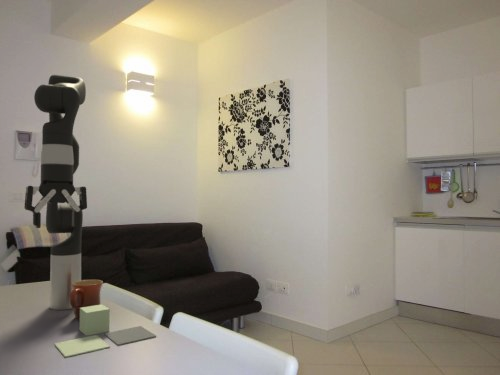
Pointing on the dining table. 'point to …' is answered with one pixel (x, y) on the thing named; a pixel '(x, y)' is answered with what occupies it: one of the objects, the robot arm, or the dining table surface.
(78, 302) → the mug
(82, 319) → the pale green cube
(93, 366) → the dining table surface
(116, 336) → the grey pad
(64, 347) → the sage pad
